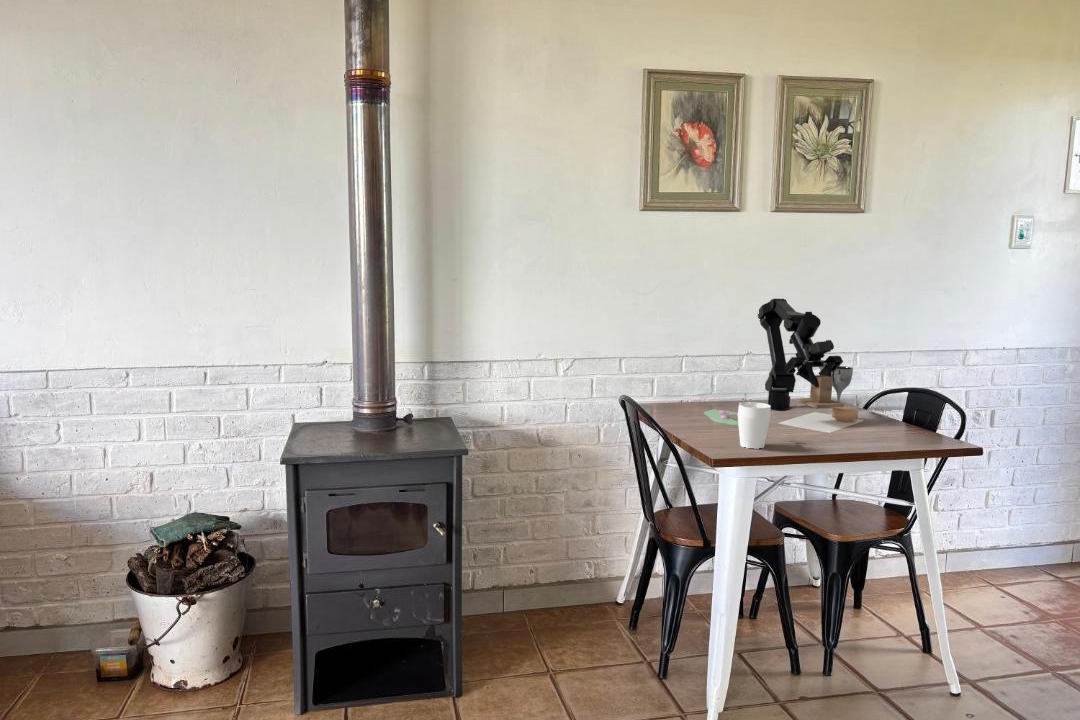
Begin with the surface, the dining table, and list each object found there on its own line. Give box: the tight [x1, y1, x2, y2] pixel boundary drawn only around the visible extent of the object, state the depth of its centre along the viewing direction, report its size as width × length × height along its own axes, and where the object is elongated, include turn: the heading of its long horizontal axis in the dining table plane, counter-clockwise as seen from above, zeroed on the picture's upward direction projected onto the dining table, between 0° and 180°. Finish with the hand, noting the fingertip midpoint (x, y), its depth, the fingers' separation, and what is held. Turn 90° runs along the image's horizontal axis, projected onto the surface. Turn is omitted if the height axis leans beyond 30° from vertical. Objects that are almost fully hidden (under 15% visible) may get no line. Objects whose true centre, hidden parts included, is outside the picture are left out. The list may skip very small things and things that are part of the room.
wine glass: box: [831, 365, 854, 403], centre depth 280 cm, size 8×8×15 cm
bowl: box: [831, 405, 859, 422], centre depth 259 cm, size 8×8×4 cm
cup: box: [737, 401, 772, 450], centre depth 226 cm, size 9×9×12 cm
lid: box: [796, 374, 845, 409], centre depth 252 cm, size 10×10×9 cm
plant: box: [703, 393, 753, 426], centre depth 264 cm, size 25×21×9 cm
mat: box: [777, 411, 865, 434], centre depth 256 cm, size 17×26×1 cm, turn 136°
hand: (824, 386), depth 250 cm, fingers closed on lid, 4 cm apart
